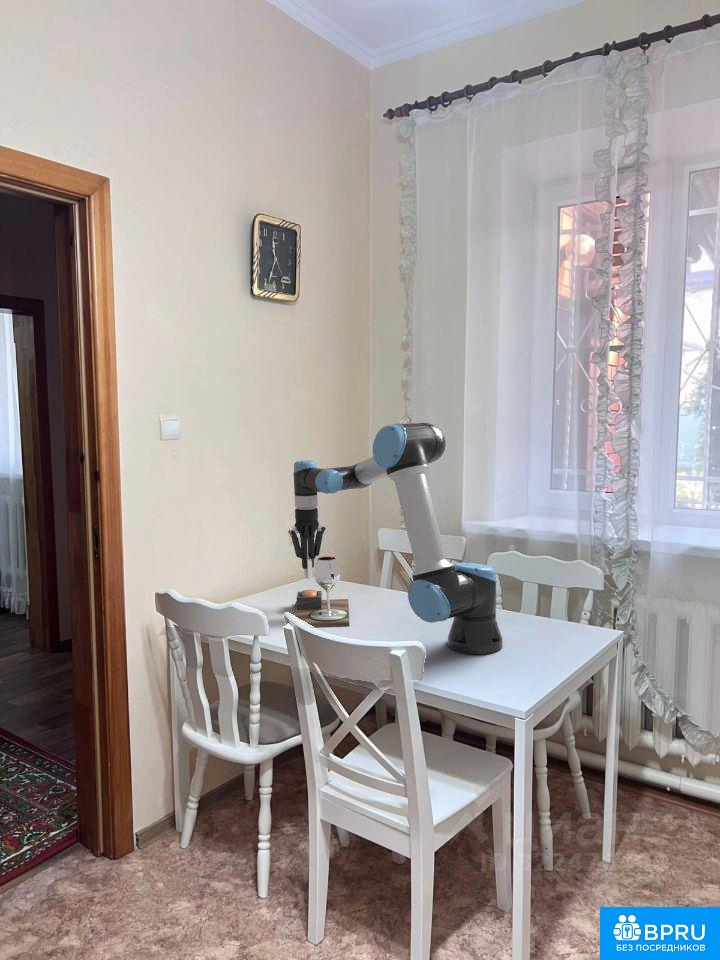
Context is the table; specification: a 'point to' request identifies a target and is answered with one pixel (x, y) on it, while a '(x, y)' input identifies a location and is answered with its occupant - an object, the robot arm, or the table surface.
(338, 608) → the board
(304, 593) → the button
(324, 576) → the wineglass
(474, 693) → the table surface
